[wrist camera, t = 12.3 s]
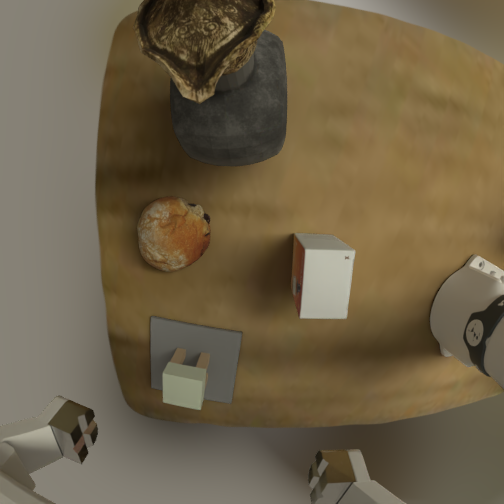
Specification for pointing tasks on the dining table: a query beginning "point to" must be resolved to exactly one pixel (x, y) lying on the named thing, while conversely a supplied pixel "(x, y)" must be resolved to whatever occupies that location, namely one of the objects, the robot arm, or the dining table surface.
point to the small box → (321, 276)
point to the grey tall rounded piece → (220, 76)
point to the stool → (185, 381)
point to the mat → (196, 353)
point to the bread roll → (173, 233)
